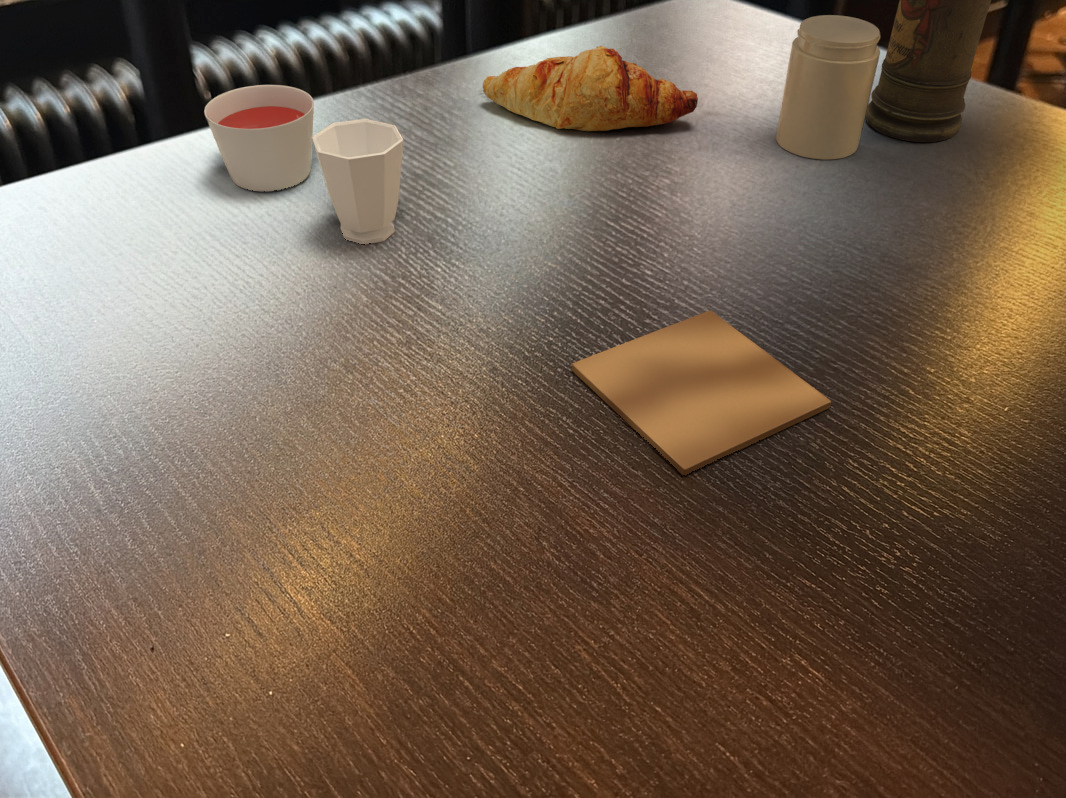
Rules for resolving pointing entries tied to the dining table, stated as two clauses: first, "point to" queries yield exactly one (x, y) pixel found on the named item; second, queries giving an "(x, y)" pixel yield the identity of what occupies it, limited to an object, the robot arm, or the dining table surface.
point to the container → (927, 69)
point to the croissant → (589, 93)
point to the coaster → (699, 390)
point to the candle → (263, 135)
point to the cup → (362, 176)
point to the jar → (828, 86)
